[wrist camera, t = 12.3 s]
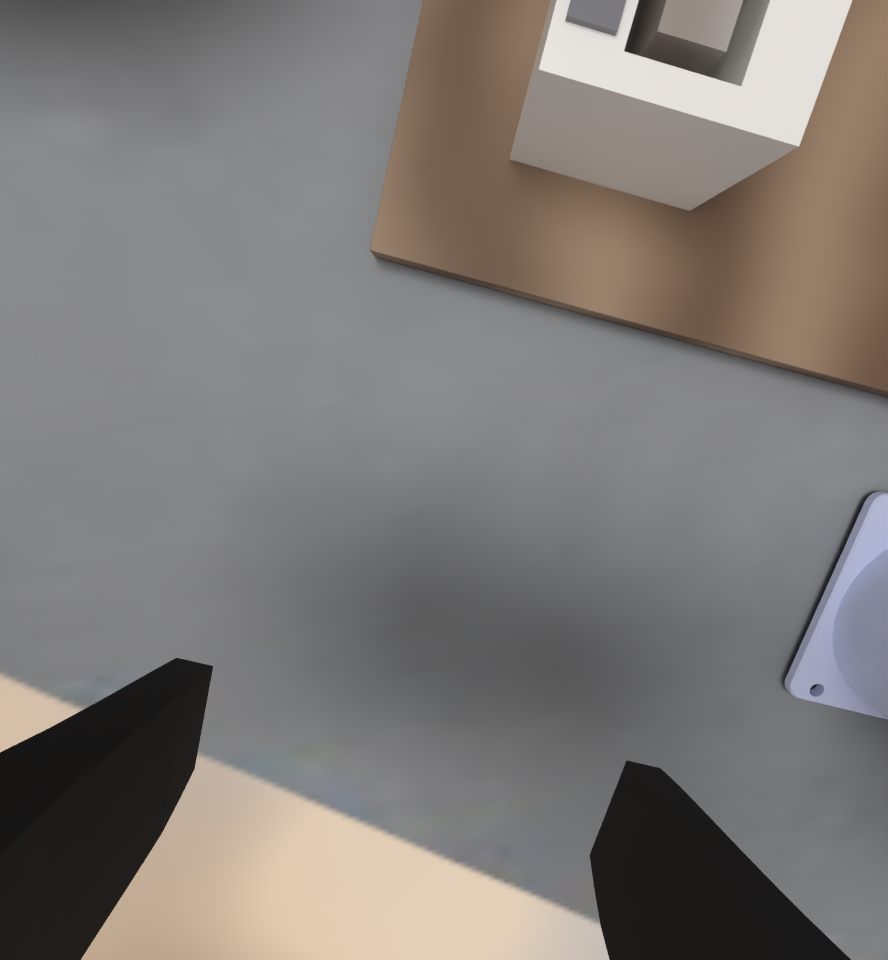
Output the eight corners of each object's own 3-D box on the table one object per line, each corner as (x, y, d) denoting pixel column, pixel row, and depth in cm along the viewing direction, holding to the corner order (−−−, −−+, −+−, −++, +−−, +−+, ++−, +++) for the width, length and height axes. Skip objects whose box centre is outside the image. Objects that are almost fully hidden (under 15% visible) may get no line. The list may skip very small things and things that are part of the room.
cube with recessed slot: (760, -2, 15) (927, -191, 9) (689, 211, 16) (804, 143, 11) (566, -62, 14) (632, -290, 9) (509, 159, 15) (540, 65, 10)
